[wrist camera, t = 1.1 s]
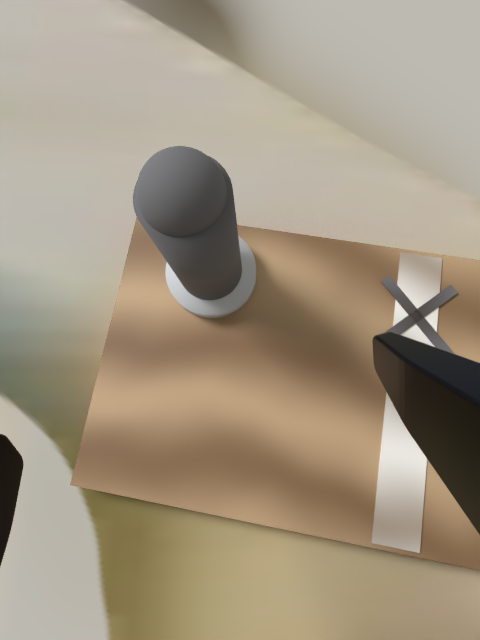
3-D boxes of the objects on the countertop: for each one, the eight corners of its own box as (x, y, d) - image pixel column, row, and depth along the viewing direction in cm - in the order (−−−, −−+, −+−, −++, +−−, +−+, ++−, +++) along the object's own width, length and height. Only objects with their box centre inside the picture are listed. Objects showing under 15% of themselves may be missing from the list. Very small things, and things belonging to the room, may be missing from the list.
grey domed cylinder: (248, 325, 21) (239, 258, 11) (162, 311, 22) (72, 232, 11) (262, 242, 22) (267, 107, 12) (179, 230, 23) (113, 89, 12)
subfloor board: (488, 562, 20) (508, 577, 18) (82, 478, 22) (68, 485, 20) (500, 274, 23) (519, 264, 21) (145, 221, 25) (137, 209, 23)
